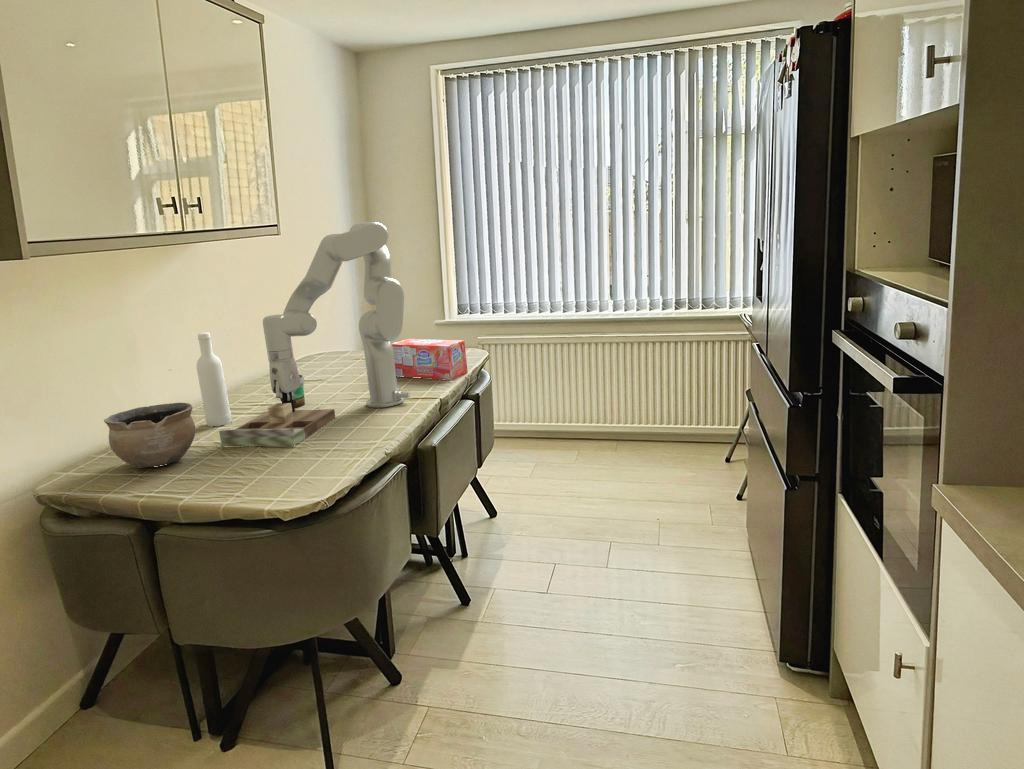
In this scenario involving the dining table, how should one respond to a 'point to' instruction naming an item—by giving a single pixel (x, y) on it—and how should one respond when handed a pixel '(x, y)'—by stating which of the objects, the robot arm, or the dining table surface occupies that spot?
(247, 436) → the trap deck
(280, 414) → the maple block
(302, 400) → the food container
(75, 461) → the dining table surface
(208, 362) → the bottle
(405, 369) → the box
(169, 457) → the ceramic bowl
